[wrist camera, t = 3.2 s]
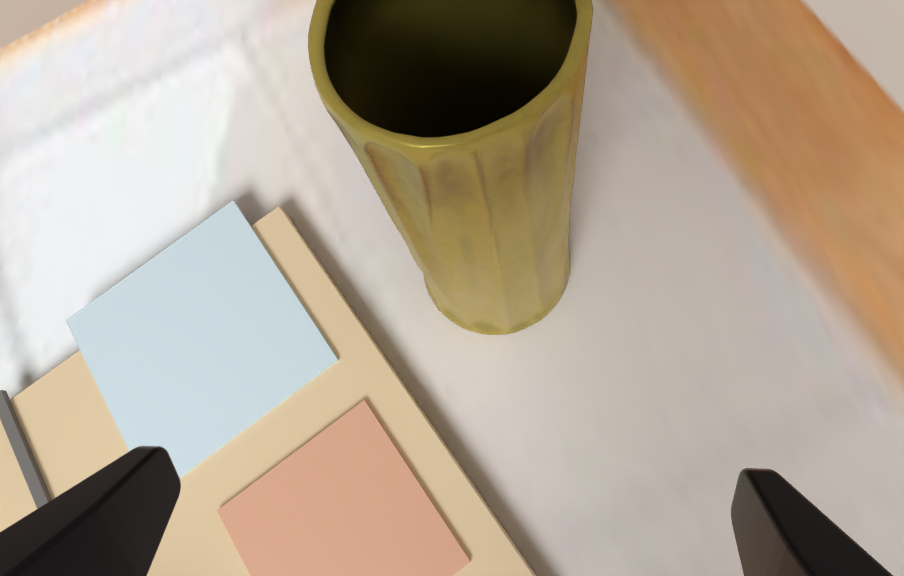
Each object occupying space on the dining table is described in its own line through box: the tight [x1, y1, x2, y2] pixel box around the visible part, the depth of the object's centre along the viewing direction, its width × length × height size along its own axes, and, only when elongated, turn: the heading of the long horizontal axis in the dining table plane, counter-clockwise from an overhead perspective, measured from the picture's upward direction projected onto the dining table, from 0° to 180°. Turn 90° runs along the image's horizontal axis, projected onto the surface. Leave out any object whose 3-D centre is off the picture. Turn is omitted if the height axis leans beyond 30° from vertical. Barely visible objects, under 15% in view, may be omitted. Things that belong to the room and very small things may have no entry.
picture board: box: [0, 201, 536, 576], centre depth 22 cm, size 22×20×1 cm
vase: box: [308, 0, 593, 335], centre depth 17 cm, size 6×6×14 cm
